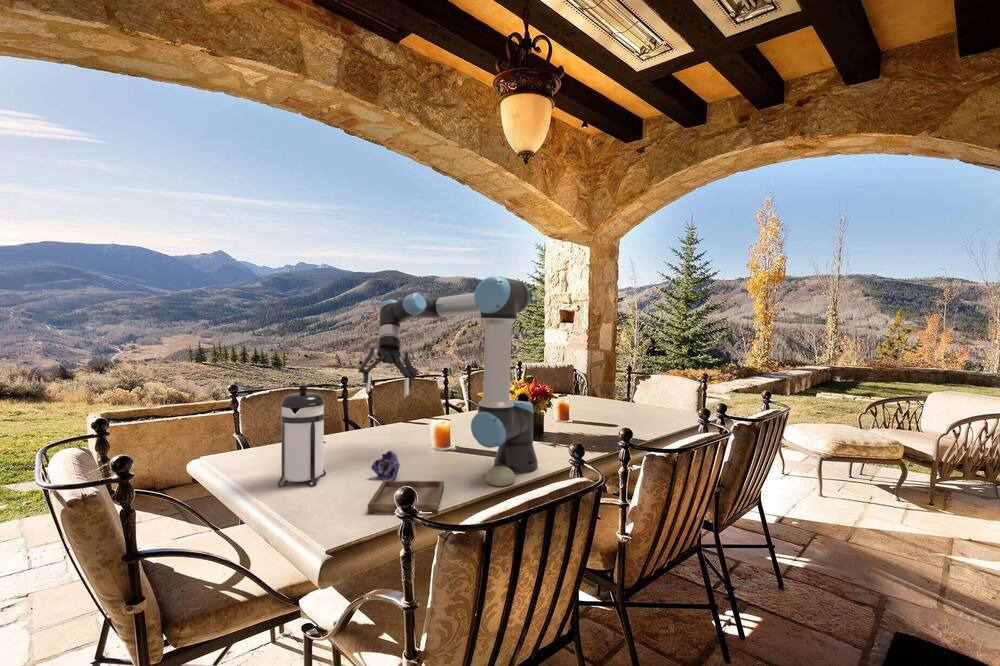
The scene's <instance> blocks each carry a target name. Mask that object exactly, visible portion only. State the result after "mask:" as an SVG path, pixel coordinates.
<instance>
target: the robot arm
mask: <svg viewBox="0 0 1000 666" xmlns="http://www.w3.org/2000/svg"><path fill="white" fill-rule="evenodd" d="M530 297H531V294H530V290H529V288H528V287H527V285H526V284H525V283H523V282H522V281H520V280H518V279H513V278H508V277H503V276H499V275H498V276H492V275H491V276H489V277H486V278H484V279H482V280H481V281H480V282H479V283H478V284H477V286H476V288H475V291H474V292H470V293H469V292H468V293H464V294H455V295H448V296H441V297H435V298H434V297H433V298H426V297H424V296H423V295H421V294H420V293H418V292H415V293H414V292H413V293H411V294H408V295H406V296H405V297H403V298H401V299H400V300H396V299H386V300H384V301H382V302H381V304H380V309H379V327H378V328H379V330H378V331H379V332H378V338H379V339H378V347H377V348H378V349H375V347H371V348H370V349H369V351H368V355H367V357H366V359H365V360H364V362H363V363H362V364H361V366H360V367H359V368H358V373H360V374H362V376H363V380H362V383H364V384H365V394H369V393H370V392H371V381H372V380H371V379H372V378H371V377H372V373H371V372H372V370H373V369H374V368H376V366H378V365H379V364H380V363H383V364H388V365H389V364H390V365H394V366H395V367H396V368H397V369H398V370H399V372H400V373H401V374H402V375H403V377H404V378H405V379H404V380H403V384H404V385H403V386H404V388H403V398H405V399H406V398H407V397H409V395H410V394H409V393H410V391H409V389H411V387H412V380H415V378H416V377H417V373H416V371H415V369H414V367H413V365H412V363H411V361H410V359H409V353H408V352H405V353H402V352H401V351H400V349H401V348H400V347H401V343H400V342H401V341H400V338H401V323H403V322H405V321H407V320H408V319H412V318H415V319H417V318H419V319H425V318H426V319H441V318H444V317H445V318H446V317H451V316H452V317H453V316H461V315H462V316H463V315H471V314H472V315H473V314H479V313H480V321H482V322H483V323H484V346H483V347H484V348H483V349H484V350H483V351H484V352H483V357H484V358H483V389H482V390H483V391H482V393H483V395H482V399H481V400H480V401H478V404H477V408H478V409H477V413H476V414H475V415H474V417H472V418H471V423H470V429H471V435H472V437H473V439H474V440H476V441H477V443H478V444H479V445H481V446H482V447H484V448H488V449H489V448H490V449H492V448H496V447H498V449H497V450H496V454H495V457H494V465H493V467H496V466H505V467H508V468H510V469H511V470H512V471H513V472H514V474H526V473H531V472H534V471H536V470H537V469H538V461H539V460H538V458H537V454H536V451H535V448H534V414H535V411H534V405H533V403H532V402H530V401H523V400H513V399H512V400H511V398H510V397H511V396H510V395H511V364H512V363H511V361H512V360H511V359H512V330H513V329H512V328H513V327H512V325H513V324H514V323H515V322H516V321H517V319H518V318H517V316H518V315H517V314H519V313H523V311H525V310H526V309H527V307H528V306H529V303H530V301H531V299H530ZM375 355H377V356H378V358H377V359H376V360H375V361H374V362H372V363H371V364H370V365H369V366H368V367H367V364H368V363H369V362H370V360H371V359H372V357H373V356H375ZM400 358H401V359H400ZM366 367H367V368H366Z"/></svg>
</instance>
